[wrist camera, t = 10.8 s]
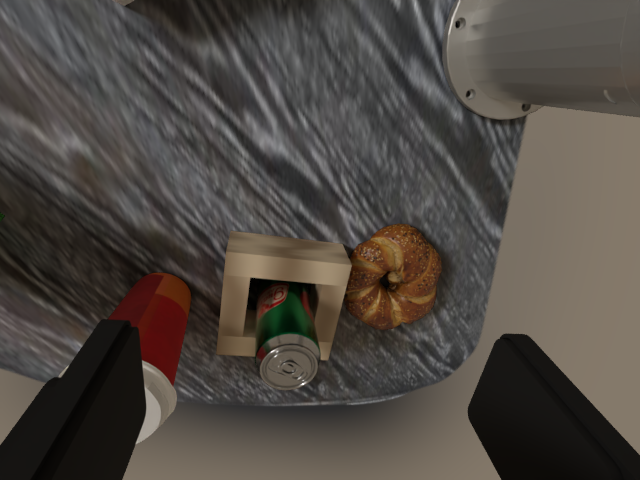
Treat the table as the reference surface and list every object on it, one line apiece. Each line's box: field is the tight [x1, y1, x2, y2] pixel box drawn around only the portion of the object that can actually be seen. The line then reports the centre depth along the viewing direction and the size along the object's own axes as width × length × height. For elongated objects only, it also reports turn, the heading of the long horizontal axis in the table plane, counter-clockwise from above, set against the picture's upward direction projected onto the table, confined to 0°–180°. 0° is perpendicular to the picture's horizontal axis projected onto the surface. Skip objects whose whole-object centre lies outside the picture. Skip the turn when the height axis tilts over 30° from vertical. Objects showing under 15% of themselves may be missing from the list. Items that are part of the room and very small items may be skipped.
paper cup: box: [58, 272, 191, 444], centre depth 30 cm, size 8×8×14 cm
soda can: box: [255, 278, 321, 390], centre depth 32 cm, size 5×5×12 cm
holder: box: [216, 231, 352, 360], centre depth 36 cm, size 11×11×4 cm
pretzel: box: [344, 224, 442, 330], centre depth 38 cm, size 12×11×4 cm
